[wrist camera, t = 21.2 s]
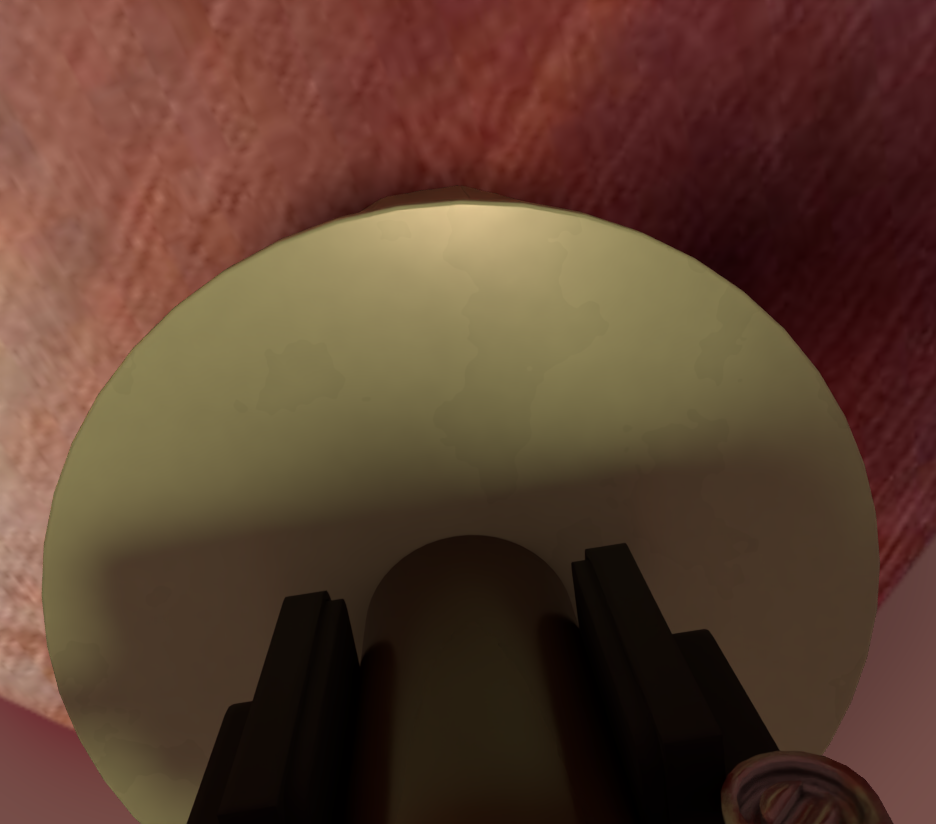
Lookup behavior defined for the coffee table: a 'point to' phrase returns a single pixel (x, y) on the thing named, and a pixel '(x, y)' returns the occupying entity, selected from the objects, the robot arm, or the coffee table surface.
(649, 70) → the coffee table surface
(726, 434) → the lid
